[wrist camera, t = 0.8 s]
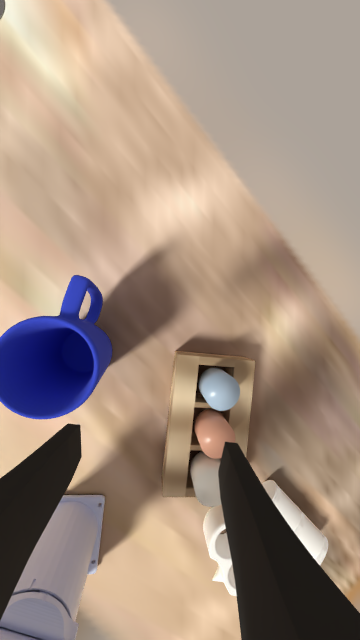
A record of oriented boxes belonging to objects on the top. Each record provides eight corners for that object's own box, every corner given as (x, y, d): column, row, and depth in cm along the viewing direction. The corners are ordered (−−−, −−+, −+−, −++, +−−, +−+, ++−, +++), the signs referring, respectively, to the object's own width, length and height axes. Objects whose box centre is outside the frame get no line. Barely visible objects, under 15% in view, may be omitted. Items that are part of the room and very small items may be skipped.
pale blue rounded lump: (227, 400, 26) (238, 411, 22) (196, 398, 25) (203, 409, 22) (230, 368, 26) (241, 375, 22) (200, 366, 25) (206, 372, 22)
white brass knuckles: (328, 538, 31) (262, 617, 29) (253, 458, 29) (179, 537, 28) (350, 565, 27) (276, 656, 26) (266, 475, 26) (183, 566, 24)
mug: (136, 300, 27) (126, 288, 17) (108, 389, 26) (80, 431, 16) (73, 280, 26) (24, 255, 16) (42, 372, 25) (-29, 405, 15)
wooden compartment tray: (232, 477, 28) (242, 496, 25) (161, 477, 27) (162, 497, 24) (244, 356, 29) (255, 361, 26) (175, 350, 27) (177, 354, 24)
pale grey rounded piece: (219, 483, 25) (228, 506, 22) (188, 483, 25) (193, 507, 22) (222, 451, 25) (232, 469, 22) (191, 450, 25) (197, 469, 22)
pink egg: (223, 441, 25) (233, 458, 22) (192, 440, 25) (198, 458, 22) (226, 409, 25) (237, 422, 22) (195, 408, 25) (202, 421, 22)
